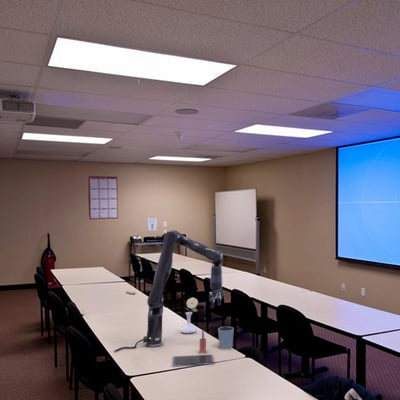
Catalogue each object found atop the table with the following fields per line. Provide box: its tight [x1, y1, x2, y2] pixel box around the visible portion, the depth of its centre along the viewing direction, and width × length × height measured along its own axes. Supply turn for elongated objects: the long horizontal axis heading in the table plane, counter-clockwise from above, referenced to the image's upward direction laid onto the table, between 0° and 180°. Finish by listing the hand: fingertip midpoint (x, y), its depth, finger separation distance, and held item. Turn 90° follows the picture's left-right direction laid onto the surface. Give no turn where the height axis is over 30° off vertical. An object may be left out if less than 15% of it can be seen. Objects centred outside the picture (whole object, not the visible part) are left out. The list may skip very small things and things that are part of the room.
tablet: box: [172, 354, 214, 367], centre depth 244 cm, size 22×14×1 cm, turn 101°
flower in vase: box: [180, 297, 199, 334], centre depth 302 cm, size 13×11×25 cm
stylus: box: [201, 329, 205, 340], centre depth 259 cm, size 1×1×13 cm
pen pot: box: [198, 338, 207, 354], centre depth 259 cm, size 4×4×8 cm
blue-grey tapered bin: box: [217, 326, 235, 350], centre depth 270 cm, size 10×10×12 cm
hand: (215, 306), depth 272 cm, fingers open, 8 cm apart
